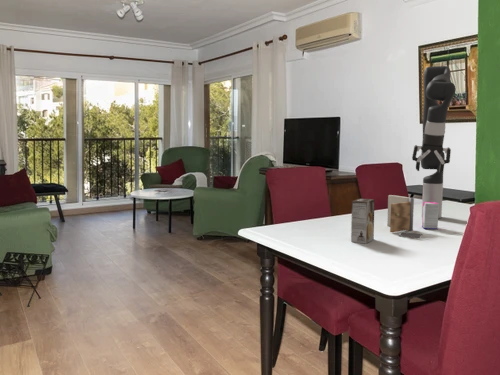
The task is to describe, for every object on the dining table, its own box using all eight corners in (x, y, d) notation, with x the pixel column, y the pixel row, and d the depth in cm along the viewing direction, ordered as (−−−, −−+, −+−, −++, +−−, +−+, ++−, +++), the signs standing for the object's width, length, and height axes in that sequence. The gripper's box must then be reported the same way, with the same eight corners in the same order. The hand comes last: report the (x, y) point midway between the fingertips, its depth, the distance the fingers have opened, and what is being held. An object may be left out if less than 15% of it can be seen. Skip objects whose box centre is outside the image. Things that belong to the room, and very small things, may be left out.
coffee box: (358, 237, 184) (359, 198, 182) (374, 239, 180) (375, 199, 179) (350, 242, 176) (351, 200, 174) (366, 244, 173) (367, 202, 171)
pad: (401, 232, 192) (401, 232, 192) (422, 234, 189) (422, 233, 189) (398, 236, 185) (398, 235, 185) (419, 238, 182) (419, 237, 182)
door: (407, 229, 197) (408, 201, 196) (411, 230, 195) (412, 202, 194) (390, 232, 191) (390, 203, 190) (394, 233, 189) (395, 204, 188)
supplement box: (438, 229, 198) (439, 203, 197) (423, 229, 199) (424, 203, 198) (435, 227, 204) (436, 201, 202) (421, 226, 205) (422, 201, 204)
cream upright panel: (390, 225, 208) (391, 195, 206) (413, 230, 197) (414, 198, 196) (387, 225, 207) (388, 195, 205) (410, 230, 196) (411, 198, 195)
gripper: (452, 132, 184) (446, 170, 189) (415, 129, 188) (410, 167, 193) (454, 135, 177) (448, 175, 182) (416, 133, 181) (410, 172, 186)
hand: (428, 171), depth 187 cm, fingers open, 8 cm apart
